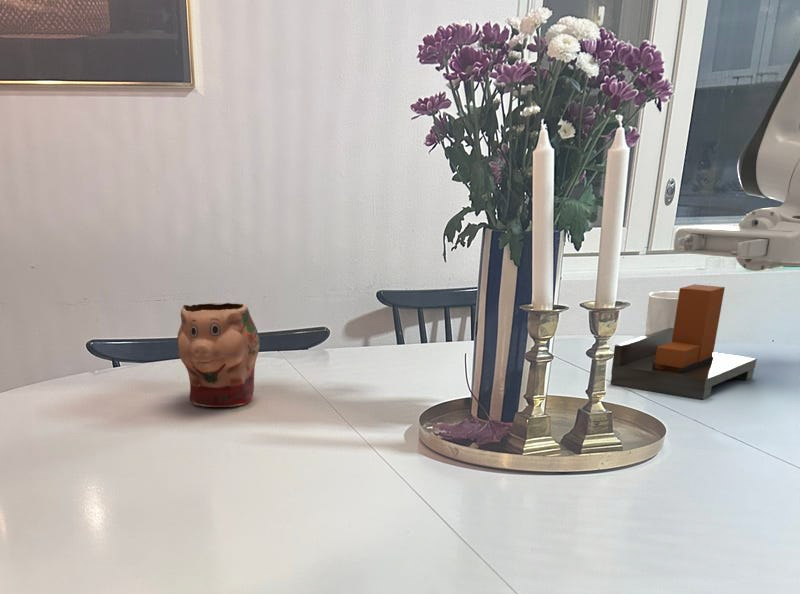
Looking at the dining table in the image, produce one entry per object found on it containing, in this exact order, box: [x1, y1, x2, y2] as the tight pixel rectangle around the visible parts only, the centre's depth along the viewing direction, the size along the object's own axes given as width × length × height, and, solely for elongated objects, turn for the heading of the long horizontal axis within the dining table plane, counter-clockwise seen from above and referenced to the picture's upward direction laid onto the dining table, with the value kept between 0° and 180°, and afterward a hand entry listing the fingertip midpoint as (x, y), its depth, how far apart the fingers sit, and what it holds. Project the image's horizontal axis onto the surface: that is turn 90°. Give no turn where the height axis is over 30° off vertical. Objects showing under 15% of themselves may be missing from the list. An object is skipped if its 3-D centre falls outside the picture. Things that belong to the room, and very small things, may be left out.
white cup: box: [644, 291, 679, 336], centre depth 162 cm, size 8×8×10 cm
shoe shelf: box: [610, 328, 757, 400], centre depth 146 cm, size 15×18×6 cm
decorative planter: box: [176, 302, 260, 408], centre depth 141 cm, size 20×12×14 cm, turn 179°
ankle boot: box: [652, 283, 726, 373], centre depth 141 cm, size 5×10×11 cm, turn 135°
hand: (707, 246), depth 137 cm, fingers open, 8 cm apart
